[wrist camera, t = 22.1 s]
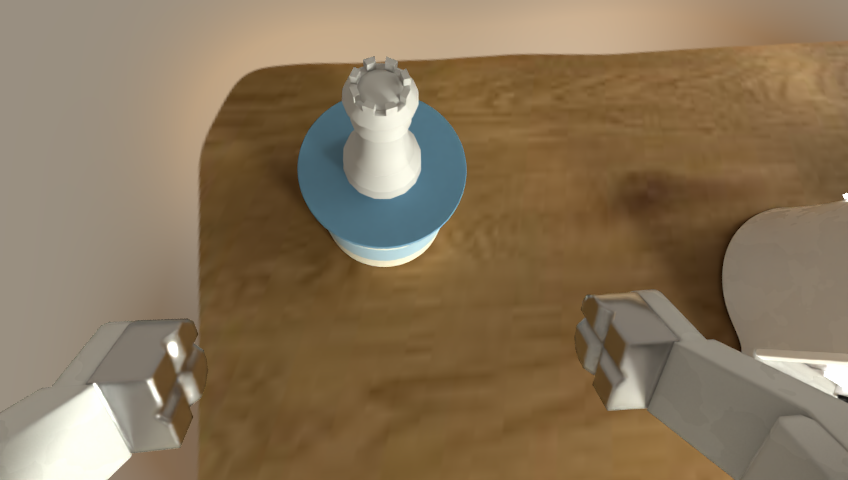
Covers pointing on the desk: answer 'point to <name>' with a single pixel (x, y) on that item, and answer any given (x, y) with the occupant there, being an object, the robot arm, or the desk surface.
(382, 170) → the rook chess piece
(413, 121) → the yogurt tub
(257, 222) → the desk surface
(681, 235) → the desk surface
